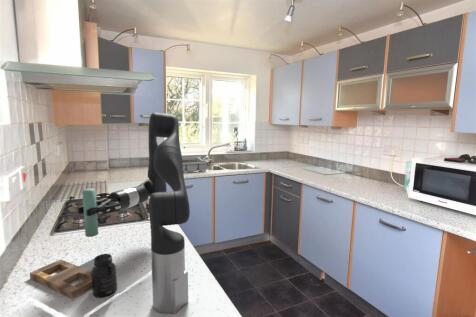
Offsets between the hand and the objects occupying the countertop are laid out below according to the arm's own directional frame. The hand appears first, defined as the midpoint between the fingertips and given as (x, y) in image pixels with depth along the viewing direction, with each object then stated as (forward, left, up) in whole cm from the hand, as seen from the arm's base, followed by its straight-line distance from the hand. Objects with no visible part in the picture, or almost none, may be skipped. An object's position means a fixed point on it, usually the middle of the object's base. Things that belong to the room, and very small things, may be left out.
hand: (82, 212), depth 95 cm
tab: (0, -3, -22) cm, 22 cm away
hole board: (0, +7, -22) cm, 23 cm away
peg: (0, -3, -9) cm, 9 cm away
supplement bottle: (-16, +5, -22) cm, 28 cm away
